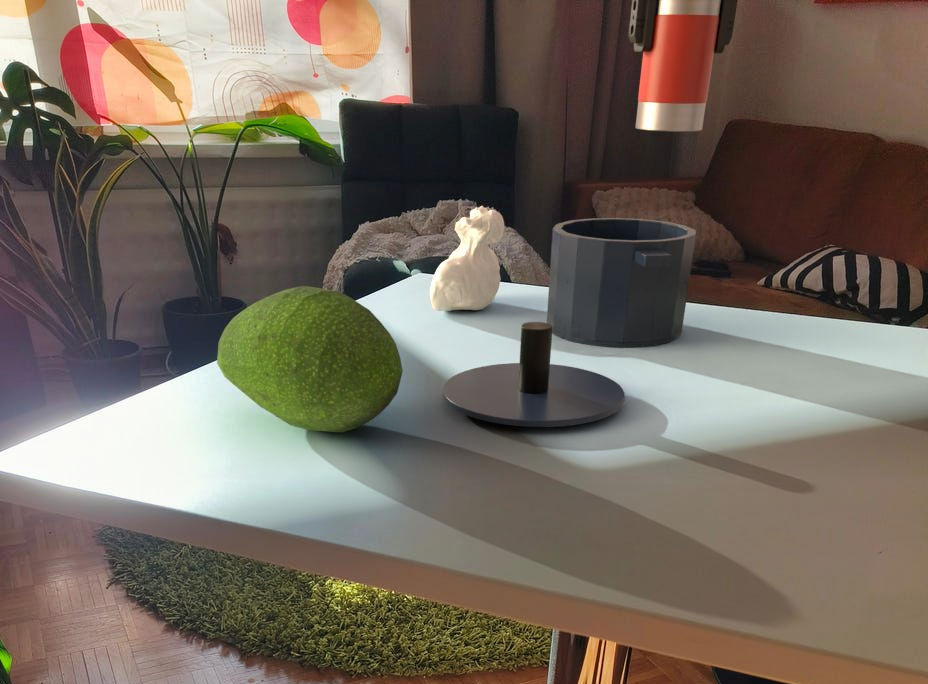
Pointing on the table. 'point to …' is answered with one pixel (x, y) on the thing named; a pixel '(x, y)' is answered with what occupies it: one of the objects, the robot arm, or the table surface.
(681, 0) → the can
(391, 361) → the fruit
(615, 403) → the lid
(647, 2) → the robot arm
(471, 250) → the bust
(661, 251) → the pot
